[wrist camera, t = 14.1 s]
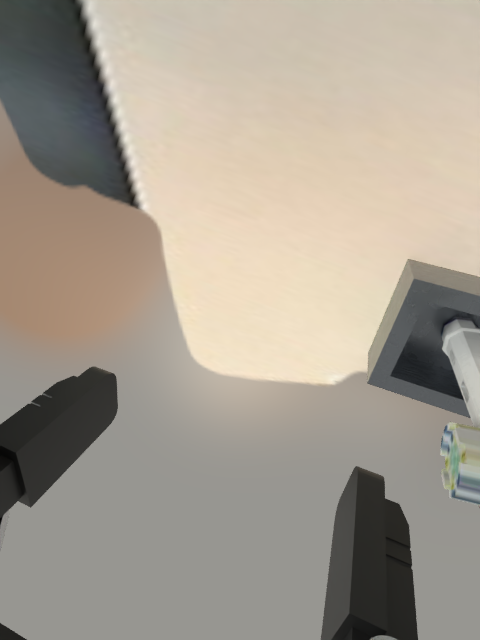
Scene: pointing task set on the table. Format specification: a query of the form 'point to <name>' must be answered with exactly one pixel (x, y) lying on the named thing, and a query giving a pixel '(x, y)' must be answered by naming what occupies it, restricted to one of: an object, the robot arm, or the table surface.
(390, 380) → the open box
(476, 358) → the light grey piece
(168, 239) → the table surface
